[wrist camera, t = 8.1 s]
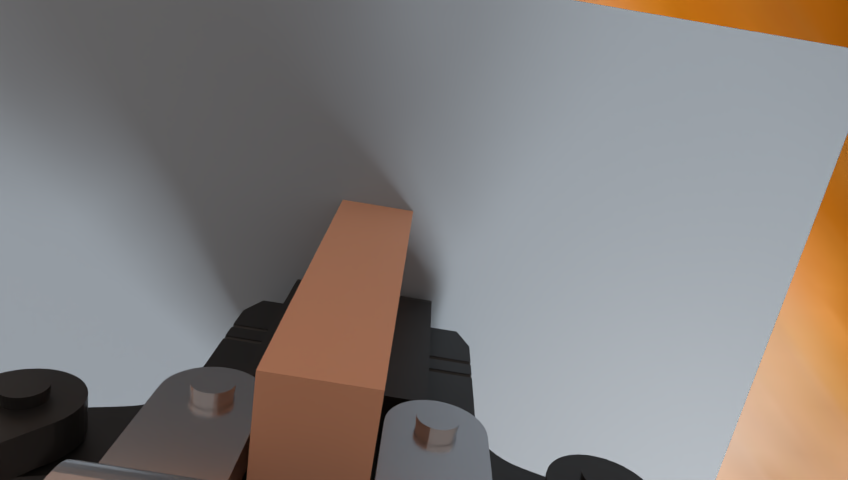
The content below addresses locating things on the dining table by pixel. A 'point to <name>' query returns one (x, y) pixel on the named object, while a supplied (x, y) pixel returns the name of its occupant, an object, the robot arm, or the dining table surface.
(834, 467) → the dining table surface
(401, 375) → the robot arm
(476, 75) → the lid
